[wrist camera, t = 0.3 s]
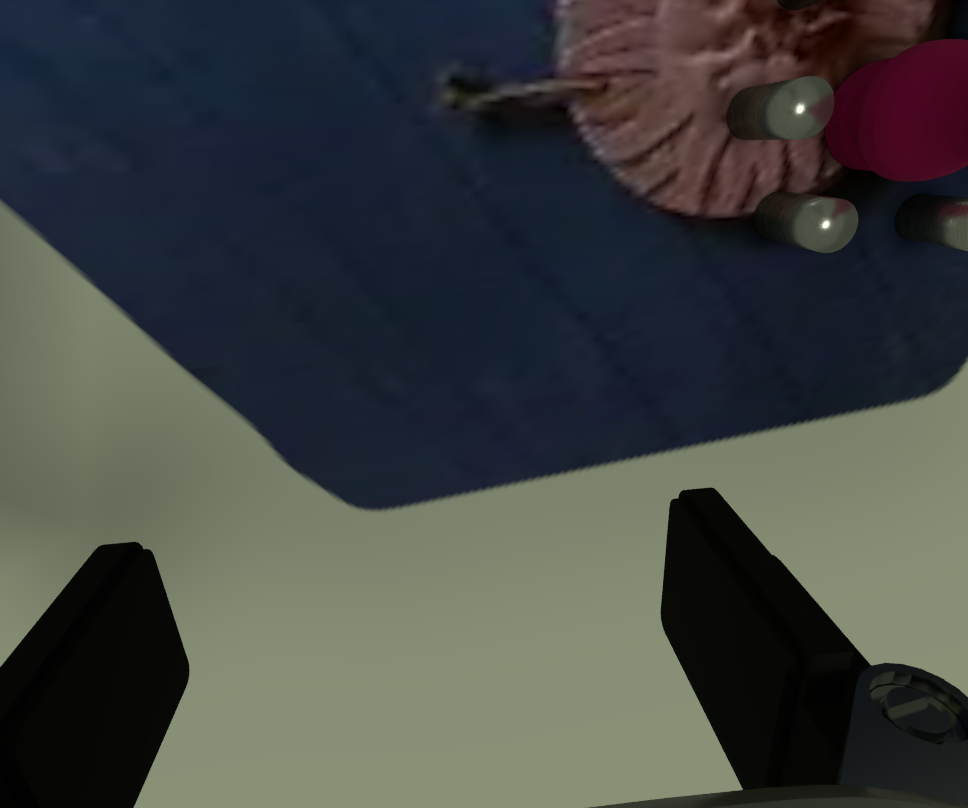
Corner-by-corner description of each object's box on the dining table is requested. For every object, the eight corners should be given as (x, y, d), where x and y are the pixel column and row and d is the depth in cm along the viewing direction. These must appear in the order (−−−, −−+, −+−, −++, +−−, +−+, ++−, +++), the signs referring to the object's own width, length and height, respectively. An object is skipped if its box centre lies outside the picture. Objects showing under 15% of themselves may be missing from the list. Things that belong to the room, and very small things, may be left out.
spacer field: (753, -55, 34) (817, -94, 29) (1061, -39, 36) (1176, -72, 30) (707, 238, 40) (752, 252, 35) (970, 239, 42) (1053, 254, 37)
